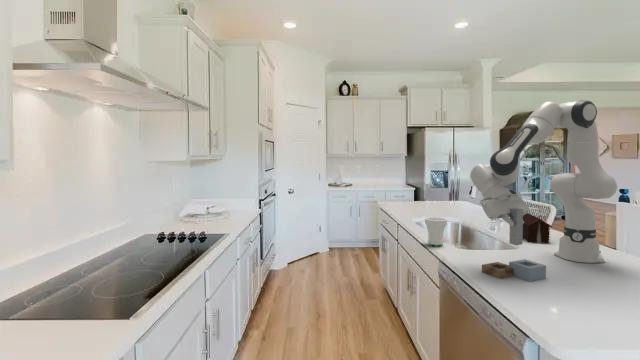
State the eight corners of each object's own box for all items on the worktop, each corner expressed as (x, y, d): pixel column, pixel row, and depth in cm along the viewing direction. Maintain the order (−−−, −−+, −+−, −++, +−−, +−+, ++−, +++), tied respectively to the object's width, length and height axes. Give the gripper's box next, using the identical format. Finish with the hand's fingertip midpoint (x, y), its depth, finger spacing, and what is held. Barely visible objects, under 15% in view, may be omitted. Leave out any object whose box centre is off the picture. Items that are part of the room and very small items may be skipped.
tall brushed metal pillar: (509, 243, 142) (509, 208, 141) (515, 242, 143) (515, 208, 142) (516, 245, 139) (517, 209, 138) (522, 244, 140) (523, 209, 139)
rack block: (508, 274, 142) (509, 262, 142) (524, 271, 146) (524, 259, 146) (529, 281, 134) (530, 268, 134) (545, 278, 138) (546, 265, 137)
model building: (551, 244, 190) (552, 216, 189) (527, 243, 193) (527, 215, 192) (537, 235, 210) (538, 210, 209) (516, 234, 213) (516, 209, 212)
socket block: (481, 271, 146) (481, 264, 146) (497, 268, 149) (497, 261, 149) (500, 278, 137) (500, 271, 137) (517, 275, 141) (517, 268, 141)
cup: (420, 243, 193) (420, 217, 192) (437, 241, 197) (437, 216, 196) (433, 248, 182) (433, 221, 181) (451, 246, 186) (451, 219, 185)
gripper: (482, 194, 142) (503, 222, 134) (519, 190, 150) (540, 217, 142) (473, 203, 146) (493, 232, 138) (509, 200, 154) (530, 226, 146)
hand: (517, 224), depth 140 cm, fingers closed on tall brushed metal pillar, 3 cm apart
